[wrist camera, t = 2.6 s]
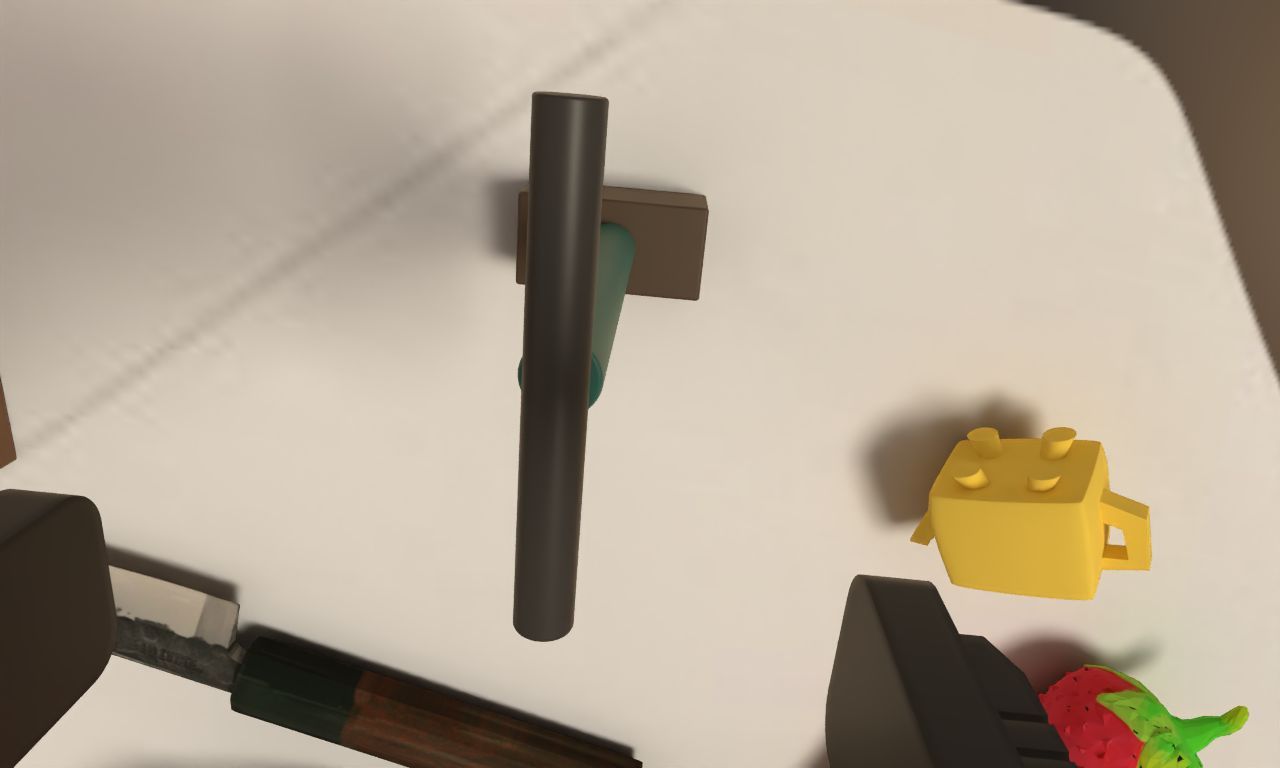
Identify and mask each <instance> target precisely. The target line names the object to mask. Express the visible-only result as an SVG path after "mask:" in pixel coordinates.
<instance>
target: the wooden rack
mask: <svg viewBox="0 0 1280 768" xmlns="http://www.w3.org/2000/svg"><path fill="white" fill-rule="evenodd" d="M14 460H16V454H15V449H14V444H13V439H12V434H11V429H10V424H9V419H8V414H7V410H6V405H5V400H4V395H3V390H2V385H1V380H0V469H1V468H3V467H4V466H6V465H8V464H9V463H11V462H13V461H14Z"/></svg>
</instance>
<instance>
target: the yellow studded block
mask: <svg viewBox="0 0 1280 768" xmlns="http://www.w3.org/2000/svg"><path fill="white" fill-rule="evenodd" d="M1075 436H1076V431H1075V430H1073V429H1071V428H1066V427H1059V428H1053V429H1050V430H1047V431H1046V432H1044V434H1043V437H1042V439H1000V438H999V434H998V431H997V430H996V429H993V428H987V427H986V428H978V429H975V430H972V431H970V432H969V433H968V435H967V437H968V439H969V440H963V441H959V442H958V444H957V445H956V447H955V448H954V449H953V451H952V453H951V454H950V456H949V458H948V459H947V461H946V463H945V464H944V466H943V468H942V470H941V471H940V473H939V475H938V477H937V479H936V481H935V483H934V484H933V486H932V488H931V491H930V493H929V509H928V511H927V512H926V514H925V516H924V517H923V519H922V520H921V522H920V524H919V525H918V527H917V529H916V530H915V532H914V534H913V535H912V537H911V539H910V541H912V542H916V543H919V544H923V545H926V546H927V545H928V544H929V542H930V540H931V539H932V538H933V537H934V536H935V539H936V542H937V545H938V548H939V551H940V554H941V557H942V560H943V563H944V565H945V568H946V570H947V573H948V576H949V578H950V580H951V583H952V584H954V585H957V586H961V587H966V588H972V589H978V590H985V591H992V592H999V593H1007V594H1015V595H1024V596H1034V597H1044V598H1056V599H1068V600H1091V599H1093V597H1094V595H1095V592H1096V589H1097V586H1098V582H1099V579H1100V575H1101V571H1102V570H1150V564H1151V558H1152V550H1151V532H1150V514H1149V506H1146V505H1144V504H1141V503H1139V502H1136V501H1134V500H1131V499H1129V498H1126V497H1123V496H1121V495H1118V494H1116V493H1113V492H1111V491H1110V486H1109V474H1108V465H1107V459H1106V455H1105V452H1104V449H1103V447H1102V444H1101V443H1100V442H1097V441H1088V440H1074V438H1075ZM1110 525H1111V526H1113V527H1116V528H1119V529H1121V530H1123V535H1124V539H1125V544H1126V546H1121V545H1108V543H1109V536H1110Z"/></svg>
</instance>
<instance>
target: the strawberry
mask: <svg viewBox="0 0 1280 768" xmlns="http://www.w3.org/2000/svg"><path fill="white" fill-rule="evenodd" d="M1039 699H1040V702H1041V704H1042V705H1043V707H1044V709H1045V711H1046V712H1047V714H1048V722H1049V724H1053V725H1054V726H1055V728H1056V730H1057V732H1058V733H1059V735H1060V737H1061V739H1062V740H1063V742H1064V744H1065V745H1066V747H1067V749H1068V751H1069V759H1070V762H1075V763H1076V765H1077V766H1078V768H1203V765H1202V763H1201V761H1200V759H1199V758H1198V756H1197V754H1196V753H1197V752H1198V751H1200V750H1201V749H1203V748H1205V747H1206V746H1207V745H1208V744H1209V743H1210V742H1212V741H1213V740H1214V739H1215V738H1218V737H1220V736H1225V735H1230V734H1232V733H1234V732H1236V731H1238V730H1240V729H1241V727H1242V726H1243V725H1244V723H1245V722H1246V721H1247V719H1248V716H1249V712H1248V708H1247V707H1244V706H1237V707H1235V708H1234V709H1232V710H1230V711H1229V712H1227V713H1225V714H1223V715H1222V716H1220V717H1219V716H1202V717H1198V718H1194V719H1183V720H1182V719H1180V718H1177V717H1174V716H1172V715H1170V713H1169V712H1168V711H1167V709H1166V708H1165V707H1164V705H1162V704H1161V703H1160V702H1159V700H1158V699H1157V697H1155V696H1154V695H1153V694H1152V693H1151V692H1150V691H1149V690H1148V689H1147V688H1146V687H1145V686H1144V685H1143V684H1142V683H1140V682H1139V681H1137V680H1135V679H1133V678H1131V677H1129V676H1127V675H1125V674H1123V673H1121V672H1117V671H1114V670H1112V669H1110V668H1108V667H1105V666H1096V665H1085V664H1084V665H1083V668H1080V669H1079V670H1078V671H1075V672H1066V676H1065V677H1063V678H1062V679H1061V680H1059V681H1058V682H1057V683H1055V684H1054V685H1052V686H1049V690H1048V692H1047V693H1046V694H1041V693H1040V694H1039Z"/></svg>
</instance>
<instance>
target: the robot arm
mask: <svg viewBox="0 0 1280 768" xmlns="http://www.w3.org/2000/svg"><path fill="white" fill-rule="evenodd" d="M116 636H117V614H116V608H115V602H114V595H113V589H112V583H111V577H110V571H109V565H108V558H107V552H106V546H105V540H104V534H103V528H102V521H101V517H100V513H99V511H98V509H97V507H96V505H95V504H94V503H93V502H92V501H91V500H90V499H88V498H86V497H84V496H77V495H67V494H57V493H47V492H37V491H26V490H16V489H6V490H2V491H0V768H14V766H15V765H16V764H17V763H18V762H19V761H20V760H21V759H22V758H23V757H24V756H25V755H26V754H27V753H28V752H29V751H30V750H31V749H32V748H33V747H34V746H35V745H36V743H37V742H38V741H39V740H40V739H41V738H42V737H43V736H44V735H45V734H46V733H47V732H48V731H49V730H50V729H51V728H52V727H53V726H54V725H55V724H56V723H57V722H58V720H59V719H60V718H61V717H62V716H63V715H64V714H65V713H66V712H67V711H68V710H69V709H70V708H71V707H72V706H73V705H74V704H75V703H76V702H77V701H78V700H79V699H80V697H81V696H82V695H83V694H84V693H85V692H86V691H87V690H88V689H89V688H90V687H91V686H92V685H93V684H94V683H95V682H96V680H97V679H98V678H99V677H100V675H101V674H102V672H103V671H104V669H105V667H106V665H107V664H108V661H109V659H110V657H111V655H112V652H113V649H114V645H115V641H116ZM825 733H826V747H827V755H828V760H829V765H830V768H1078V766H1077V765H1076V763H1075V762H1070V759H1069V751H1068V749H1067V747H1066V745H1065V744H1064V742H1063V740H1062V739H1061V737H1060V735H1059V733H1058V732H1057V730H1056V728H1055V726H1054V725H1053V724H1049V722H1048V714H1047V712H1046V711H1045V709H1044V707H1043V705H1042V704H1041V702H1040V700H1039V698H1038V697H1037V695H1036V693H1035V691H1034V690H1033V688H1032V686H1031V684H1030V683H1029V681H1028V679H1027V677H1026V676H1025V674H1024V673H1023V672H1022V671H1021V670H1020V669H1019V668H1018V667H1017V666H1015V665H1014V664H1013V663H1012V662H1011V661H1010V660H1009V659H1008V658H1007V657H1006V656H1004V655H1003V654H1002V653H1001V652H1000V651H999V650H998V649H997V648H996V647H995V646H993V645H992V644H991V643H990V642H989V641H988V640H987V639H986V638H985V637H983V636H974V635H964V634H959V633H958V631H957V629H956V627H955V625H954V623H953V621H952V619H951V617H950V615H949V613H948V611H947V609H946V607H945V605H944V603H943V601H942V599H941V597H940V595H939V593H938V591H937V589H936V587H935V586H934V585H933V584H932V583H931V582H929V581H921V580H911V579H901V578H891V577H881V576H870V575H857V576H855V578H854V579H853V581H852V583H851V586H850V589H849V593H848V597H847V602H846V607H845V611H844V616H843V621H842V626H841V631H840V636H839V641H838V645H837V650H836V655H835V660H834V665H833V670H832V675H831V679H830V684H829V689H828V695H827V702H826V717H825Z"/></svg>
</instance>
